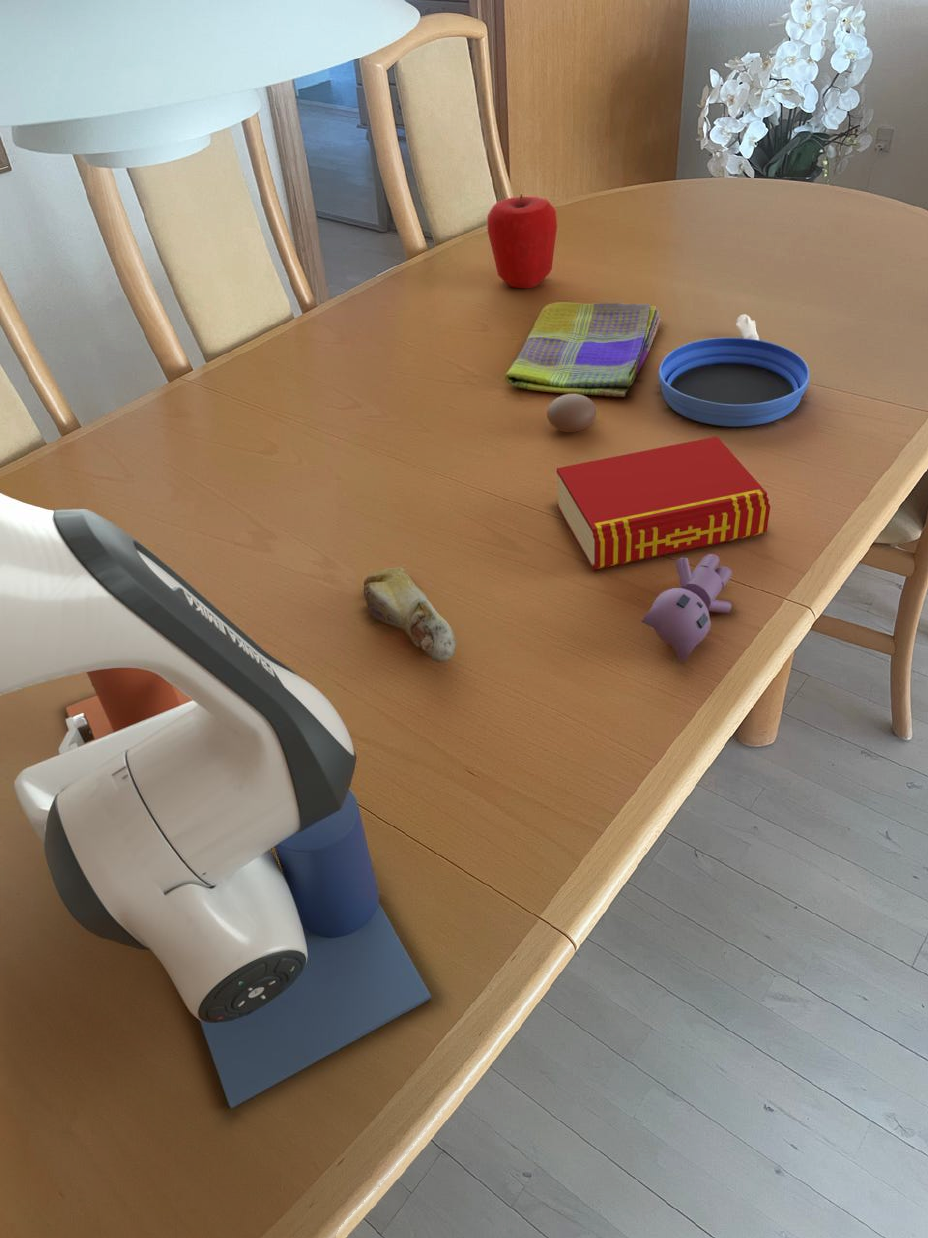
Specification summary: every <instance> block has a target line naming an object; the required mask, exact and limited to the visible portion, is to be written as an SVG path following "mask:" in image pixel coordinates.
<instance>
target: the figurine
mask: <svg viewBox="0 0 928 1238" xmlns="http://www.w3.org/2000/svg"><path fill="white" fill-rule="evenodd" d="M719 564H720V557H719V556H718V555H717V554H714V553H708V554H706V555H704V556H703V557H702V559H701V560H700V561H699V562H698V564H696V567H694V569H693V570H692V571H691V567H690V562H689V559H688V558H687V557H680V558H678V559H676V561H675V565H676V566H675V567H676V571H677V574H678V579H679V584H680V587H673V588H670V589H667V590H664V591H662V592H661V593H660V594H659V595H657V597H656V599H654V601H653V603H652V605H651V606H652V607H651V608H650V609H649V610H648V612H647V613H646V614H645V616H644V617H643V618H642V619H641V620H640V623H642V624H643V625H646V626H648V627H650V628H652V629H653V630H654V632H655V634H656V635H657V636H658V637H659V638H660V640H662V641H663V642H664V643H665V644H666V645H669V646H671V647H672V649H673V651H674V652H675V654H676V656H677V657H678V659H679V660H680V663H681V664H682V665H684V664H685V663H686V661H687V660H688V658H689V657H690V655H691V654H692V652H693V650H694V649H695V648H696V646H697V645H699V644H701V642H702V641H703V640H704V639H705V638H706V637H707V635H708V634H709V632H710V630H711V626H712V621H711V618H710V612H714V613H720V614H729V612H731V610H732V603H731V602H730V601H728V600H722V599H716V598H717V597H718V595H720V593H721V591H722V590H723V589H724V587H725V586H726V584H727V583H728V582H729V580H730V579H731V578H732V574H733V573H732V570H731V568H730V567H728V566H719ZM718 566H719V567H718Z"/></svg>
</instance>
